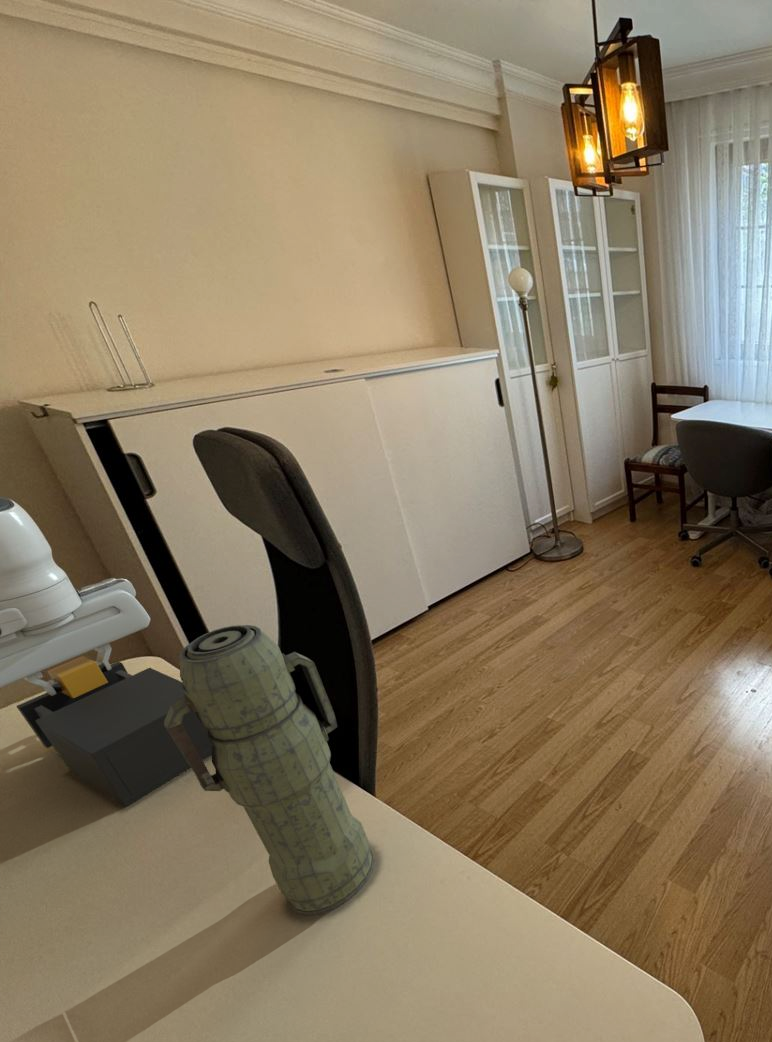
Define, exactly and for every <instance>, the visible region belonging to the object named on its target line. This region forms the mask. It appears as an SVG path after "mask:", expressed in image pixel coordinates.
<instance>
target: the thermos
mask: <svg viewBox="0 0 772 1042" xmlns="http://www.w3.org/2000/svg"><path fill="white" fill-rule="evenodd" d="M298 665H300V666H301V669H302V670H303V674H304V676H305V678H306V681H307V684H308V685H309V689H310V691H311V693H312V695H313V698H314V700H315V703H316V705H317V708H318V710H319V712H320V715H321V717H322V719H323V721H320V720H319V719H318V717H317V715H316V712H314V711H313V710H312V709H310V708H309V707H308V706H307V705H306V704H305V703H304V702H303V700H302V698H301V696H300V694H298V692H296V690H297V689H296V685H295V682H294V679H293V677H292V675H291V673H292V672H294V671H296V669H295V667H296V666H298ZM179 677H180V680H181V682H183V688H182V689H183V690H184V692H185V696H184V697H182V698H181V699H179V700H177V701H175V702H174V703H172V704H171V706H170V709H169V711H168V713H167V716H166V718H165V720H164V726H165V728H166V729H167V731H168V732H169V734H170V735H171V737H172V738H173V740H174V742H175V743H176V745H177V746H178V748H179V749H180V751H181V753H182V754H183V756H184V757H185V759H186V760H187V762H188V764H189V765H190V767H191V768H190V769H191V770H192V772H193V773H194V775H195V777H196V780H197V781H198V783H199V785H200V787H201V788H202V789H203V790H204V792H220V791H222V790H224V791H225V792H226V793H228V795H229V797H230V798H231V799H232V800H233V802H234V803H235V804H236V805H239V806H241V807H243V809H244V811H245V813H246V814H247V816H248V819H249V820H250V822H251V824H252V826H253V827H254V829H255V831H256V833H257V835H258V837H259V839H260V841H261V842H262V844H263V846H264V849H265V850H266V852H267V854H268V864H269V868H270V872H271V875H272V877H273V879H274V881H275V883H276V885H277V887H278V888H279V890H280V893H281V894H282V895H283V896H284V897H285V898H286V899H287V900H288V901H289V905H290V907H291V908H292V909H293V910H294V911H295V912H296V913H298V914H300V915H304V916H316V915H321V914H324V913H327V912H330V911H332V910H334V909H337V908H338V907H339V906H342V905H343V904H345V903H347V902H348V901H350V900H351V898H353V897H354V896H356V894H357V893H358V892H360V890H361V889H362V888H363V887H364V886H365V884H366V883H367V882H368V880H369V878H370V877H371V874H372V873H373V870H374V865H375V858H374V855H373V852H372V850H371V849H370V847H371V844H370V841H369V839H368V835H367V834H366V830H365V828H364V826H363V824H362V821H360V820H359V819H358V818H357V817H355V816H354V815H352V813H351V810H350V808H349V805H348V802H347V800H346V798H345V796H344V794H343V791H342V789H341V786H340V784H339V781H338V778H337V777H336V775H335V772H334V770H333V767H332V765H331V763H330V762H331V757H332V753H331V750H330V746H329V744H328V742H329V740H330V738H329V736H328V734H329V733H331V732H332V731H334V730H335V729H337V728H338V722H337V718H336V715H335V712H334V709H333V706H332V703H331V701H330V699H329V696H328V694H327V692H326V689H325V686H324V684H323V681H322V679H321V676H320V674H319V671H318V669H317V666H316V663H315V662H314V661H313V660H311V659H310V658H309V657H307V656H305V655H303V654H300V653H298V652H296V651H292V652H291V653H289V654H285V653H284V652H283V653H282V651H281V649H280V646H279V645H278V644H277V643H276V642H275V641H274V640H273V639H272V638H271V637H270V636H269V635H268V634H266V633H265V632H264V631H263V630H262V629H261V628H259V627H258V626H256V625H249V624H243V625H241V624H239V625H230V626H224V627H220V628H218V629H214V630H211V631H209V632H206V633H204V634H202V635H200V636H198V637H197V638H196V639H194V640H193V641H191V642H190V643H188V644H187V645H185V646H184V648H183V649H182V650H181V651H180V652H179ZM190 711H193V712H194V713H196V715H197V717H198V719H199V720H200V722H201V724H202V725H203V726H204V727H205V728H207V729H208V738H209V739H210V741H211V743H212V755H211V763H212V766H213V767H214V769H215V773H214V774H211V773H210V771H209V769H208V768H207V766H206V763H205V762H204V760H202V759H201V757H200V755H199V753H198V752H197V750H196V748H195V746H194V744H193V743H192V741H191V739H190V737H189V735H188V734H187V732H186V730H185V728H184V726H183V725H182V721H183V717H184V714H186V713H188V712H190Z"/></svg>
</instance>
